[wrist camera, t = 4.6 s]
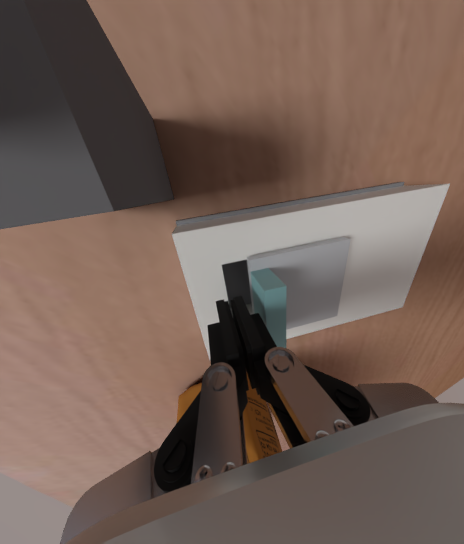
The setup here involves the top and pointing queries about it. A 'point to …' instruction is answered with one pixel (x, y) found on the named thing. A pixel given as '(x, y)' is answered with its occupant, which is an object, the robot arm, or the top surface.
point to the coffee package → (246, 423)
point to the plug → (70, 119)
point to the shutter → (297, 285)
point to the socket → (310, 229)
